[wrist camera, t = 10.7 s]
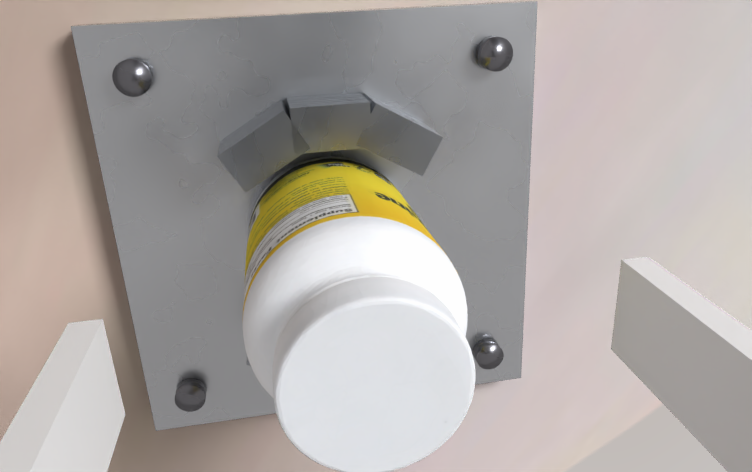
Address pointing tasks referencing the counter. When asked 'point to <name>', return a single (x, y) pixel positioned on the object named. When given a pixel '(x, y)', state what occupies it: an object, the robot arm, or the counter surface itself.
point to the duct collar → (297, 144)
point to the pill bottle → (354, 319)
